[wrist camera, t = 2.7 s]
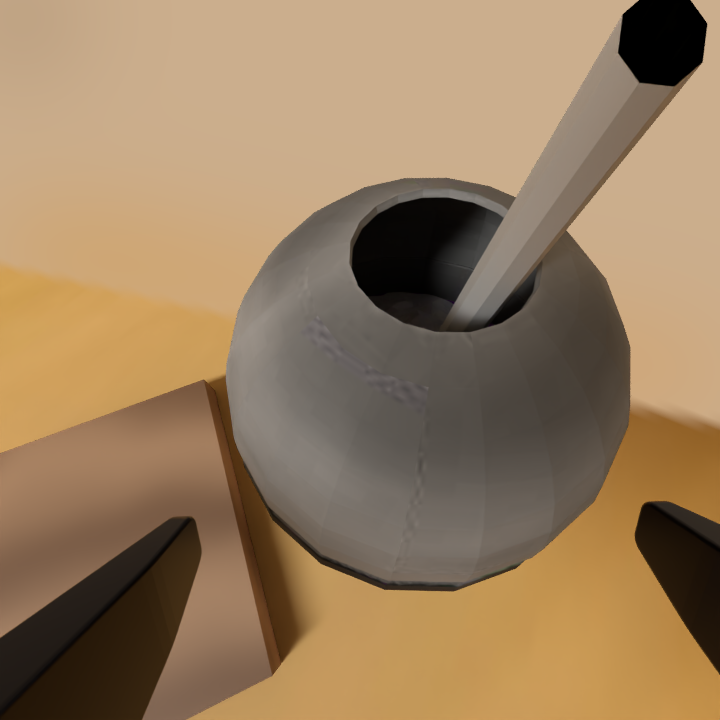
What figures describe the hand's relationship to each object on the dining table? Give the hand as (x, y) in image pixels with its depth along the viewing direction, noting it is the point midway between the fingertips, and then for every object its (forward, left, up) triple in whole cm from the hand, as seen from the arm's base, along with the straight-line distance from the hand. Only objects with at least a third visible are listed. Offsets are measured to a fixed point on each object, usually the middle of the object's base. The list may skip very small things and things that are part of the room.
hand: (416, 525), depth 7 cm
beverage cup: (+1, -2, -11) cm, 11 cm away
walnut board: (+9, +7, -10) cm, 16 cm away
